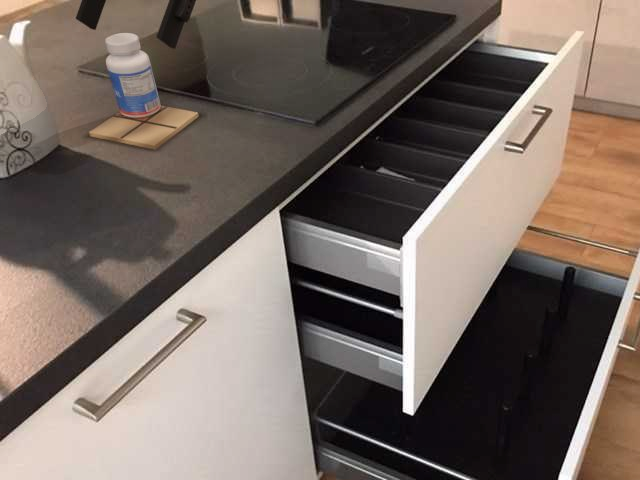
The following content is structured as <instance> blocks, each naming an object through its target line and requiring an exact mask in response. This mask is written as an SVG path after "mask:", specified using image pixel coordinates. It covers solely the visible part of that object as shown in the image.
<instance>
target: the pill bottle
mask: <svg viewBox="0 0 640 480" xmlns="http://www.w3.org/2000/svg"><path fill="white" fill-rule="evenodd" d="M104 41H105V46H106V50H107V52H108V53H109V54H108V56H107V57H106V58H105V65H106V69H107V72H108V76H109V79H110V83H111V86H112V89H113V93H114V96H115V99H116V100H115V101H116V103H117V107H118V109H119V112H121V113H122V114H123V115H124V116H127V117H132V118H141V117H147V116H150V115H153V114H154V113H156V112H157V111H158V110H159V109H160V106H162V105H161V101H160V98H159V97H160V96H159V93H158V89H157V84H156V81H155V77H154V72H153V68H152V64H151V61H150V56H149V55H148V54H147V53H146V52H145V51H143V50H141V43H140V39H139V36H138V35H137V34H135V33H132V32H121V33H115V34H111V35H108V36H107V37H106V38H105V39H104Z"/></svg>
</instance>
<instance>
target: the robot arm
mask: <svg viewBox="0 0 640 480" xmlns="http://www.w3.org/2000/svg"><path fill="white" fill-rule="evenodd" d="M106 2H107V0H81V2H80V5H79V8H78V10H77V14H76V16H75V20H76V21H78V22H80V23H81V24H83V25H85V26H86V27H87V28H89V29H90V30H93V31H96V30H97V27H98V24H99V21H100V20H101V15H102V12H103V10H104V7H105V4H106ZM196 3H197V0H168V3H167V6H166V8H165V11H164V14H163V17H162V20H161V23H160V25H159V28H158V31H157V34H156V38H157V39H158V40H159V41H160V42H162V43H163V44H164V45H166V46H167V47H169V48H170V49H174V50H175V49H176V47H177V45H178V42H179V39H180V36H181V33H182V31H183V28H184V25H185V23H188V21H190V19H191V16H192V13H193V10H194V7H195V5H196Z"/></svg>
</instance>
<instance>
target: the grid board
mask: <svg viewBox="0 0 640 480" xmlns="http://www.w3.org/2000/svg"><path fill="white" fill-rule="evenodd" d="M199 115H200V114H199V112H197V111H192V110H187V109H182V108H181V109H180V108H175V107H172V106H171V107H170V106H167V105H161V106H160V109H159V110H158V111H157V112H156V113H154V114H153V115H150V116H147V117H141V118H132V117H127V116H124V115H123V114H122V113H121V112H120V111H119V112H117V113H116V114H114V115H112V116H111V117H110V118H109V119H107V120H105V121H104V122H102V123H101V124H99V125H98V126H96V127H94V128H93V129H91V130H90V131H88V134H89V137H93V138H98V139H102V140H107V141H111V142H116V143H121V144H126V145H131V146H136V147H140V148H146V149H150V150H157V149H158V148H159V147H161V146H162V145H163V144H165V143H166V142H167V141H168V140H170V139H171V138H172V137H174V136H175V135H176V134H178V133H179V132H180V131H182V130H183V129H184V128H186V127H187V126H188V125H189V124H191V123H192V122H194V121H195V120H197V118H198V117H200V116H199Z"/></svg>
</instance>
